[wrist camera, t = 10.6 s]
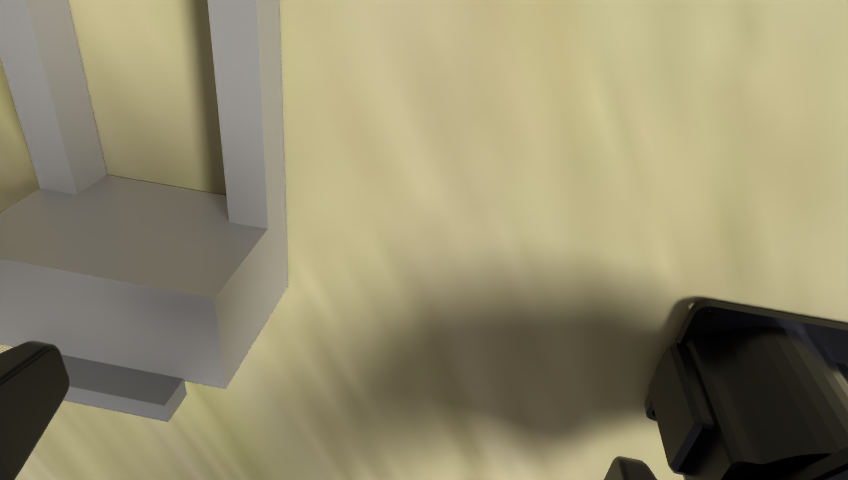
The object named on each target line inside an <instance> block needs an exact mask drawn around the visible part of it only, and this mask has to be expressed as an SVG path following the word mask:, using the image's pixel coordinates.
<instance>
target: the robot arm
mask: <svg viewBox="0 0 848 480" xmlns="http://www.w3.org/2000/svg"><path fill="white" fill-rule="evenodd" d="M706 311H711V312H710V313H709V314H707V315H701V314H702V313H704V312H706ZM69 385H70V379H69V375H68V372H67V369H66V366H65V364H64V361H63V358H62V355H61V352H60V350H59V348H58V347H57V346H55V345H53V344H48V343H43V342H38V341H28V342H25V343H22V344H20V345H18V346H16V347H14V348H11V349H9V350H7V351H5V352H2V353H0V480H15V478H16V477H17V475H18V473H19V472H20V470H21V469H22V467H23V466H24V464H25V462H26V461H27V459H28V457H29V456H30V454H31V452H32V451H33V449H34V448H35V446H36V444H37V443H38V441H39V439H40V438H41V436H42V434H43V433H44V431H45V429H46V428H47V426H48V424H49V423H50V421H51V419H52V418H53V416H54V414H55V413H56V411H57V409H58V408H59V406H60V404H61V403H62V401H63V399H64V398H65V396H66V394H67V392H68V389H69ZM649 392H650V394H649V396H648V398H647V400H646V402H645V405H644V408H645V412H646V415H647V417H648V418H649V419H651V420H654V421H657V423H658V427H659V431H660V435H661V439H662V443H663V446H664V450H665V454H666V458H667V462H668V465H669V467H670V468H671V470H672V471H673V473H676V474H681V475H683V477H684V480H848V324H843V323H838V322H832V321H826V320H821V319H815V318H809V317H804V316H798V315H792V314H787V313H781V312H775V311H770V310H764V309H759V308H753V307H747V306H742V305H736V304H730V303H725V302H719V301H713V300H701V301H698V302H697V303H695V304H694V305H693V306H692V308H691V310H690V312H689V314H688V316H687V318H686V320H685V322H684V324H683V326H682V328H681V330H680V332H679V334H678V336H677V338H676V340H675V342H674V343H672V344H671V345H669V346H668V347H667V349H666V352H665V354H664V356H663V358H662V360H661V362H660V364H659V366H658V368H657V370H656V372H655V375H654V377H653V379H652V381H651V383H650V385H649ZM604 480H657V479H656V477H655V476H654V474H653V473H652V471H651V470H650V468H649V467H648V466H647V465H646V464H645V463H644V462H643V461H640V460H637V459H631V458H626V457H621V456H618V457H616V458H615V459H614V460H613V462H612V464H611V466H610V468H609V470H608V472H607V474H606V476H605V479H604Z"/></svg>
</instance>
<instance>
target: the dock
mask: <svg viewBox="0 0 848 480" xmlns="http://www.w3.org/2000/svg"><path fill="white" fill-rule="evenodd" d="M207 1H208V11H209V21H210V32H211V42H212V52H213V63H214V73H215V83H216V93H217V104H218V114H219V124H220V134H221V145H222V155H223V165H224V176H225V186H226V196H225V195H220V194H214V193H208V192H202V191H197V190H191V189H185V188H179V187H174V186H168V185H162V184H157V183H151V182H145V181H139V180H134V179H128V178H122V177H116V176H111V175H107V172H106V167H105V163H104V158H103V154H102V150H101V145H100V141H99V136H98V132H97V127H96V123H95V119H94V114H93V110H92V105H91V101H90V96H89V92H88V88H87V83H86V79H85V74H84V70H83V65H82V61H81V57H80V52H79V48H78V43H77V39H76V34H75V30H74V26H73V21H72V17H71V12H70V8H69V3H68V0H0V59H1V62H2V65H3V69H4V72H5V75H6V79H7V82H8V85H9V88H10V92H11V95H12V98H13V102H14V105H15V108H16V111H17V115H18V118H19V121H20V125H21V128H22V131H23V134H24V138H25V141H26V144H27V148H28V151H29V154H30V157H31V161H32V164H33V167H34V171H35V174H36V177H37V180H38V184H39V187H40V189H38V190H37V191H35V192H33V193H32V194H30V195H28V196H27V197H25V198H23V199H22V200H20V201H18V202H17V203H15V204H13V205H12V206H10V207H8V208H7V209H5V210H3V211H2V212H0V344H2V345H7V346H12V347H16V346H18V345H20V344H22V343H25V342H28V341H38V342H43V343H48V344H53V345H55V346H57V347H58V348H59V350H60V352H61V355H62V358H63V361H64V364H65V366H66V369H67V372H68V375H69V379H70V385H69V389H68V392H67V394H66V396H65V398H64V399H63V400H64V401H69V402H74V403H79V404H84V405H89V406H93V407H98V408H103V409H108V410H113V411H118V412H123V413H127V414H132V415H137V416H142V417H147V418H152V419H157V420H162V421H166V422H168V421H169V420H170V419H171V417H172V416H173V414H174V413H175V411H176V410H177V408H178V407H179V405H180V404H181V402H182V401H183V399H184V398H185V396H186V395H187V394H186V388H185V383H184V381H188V382H193V383H198V384H203V385H208V386H213V387H218V388H223V389H226V388H227V386H228V384H229V383H230V381H231V379H232V378H233V376H234V374H235V373H236V371H237V370H238V368H239V366H240V365H241V363H242V361H243V360H244V358H245V356H246V355H247V353H248V351H249V350H250V348H251V346H252V345H253V343H254V341H255V340H256V338H257V336H258V335H259V333H260V331H261V330H262V328H263V326H264V325H265V323H266V321H267V320H268V318H269V317H270V315H271V313H272V312H273V310H274V308H275V307H276V305H277V303H278V302H279V300H280V298H281V297H282V295H283V293H284V292H285V290H286V288H287V287H288V266H287V233H286V201H285V169H284V137H283V105H282V73H281V41H280V9H279V0H207Z"/></svg>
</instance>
